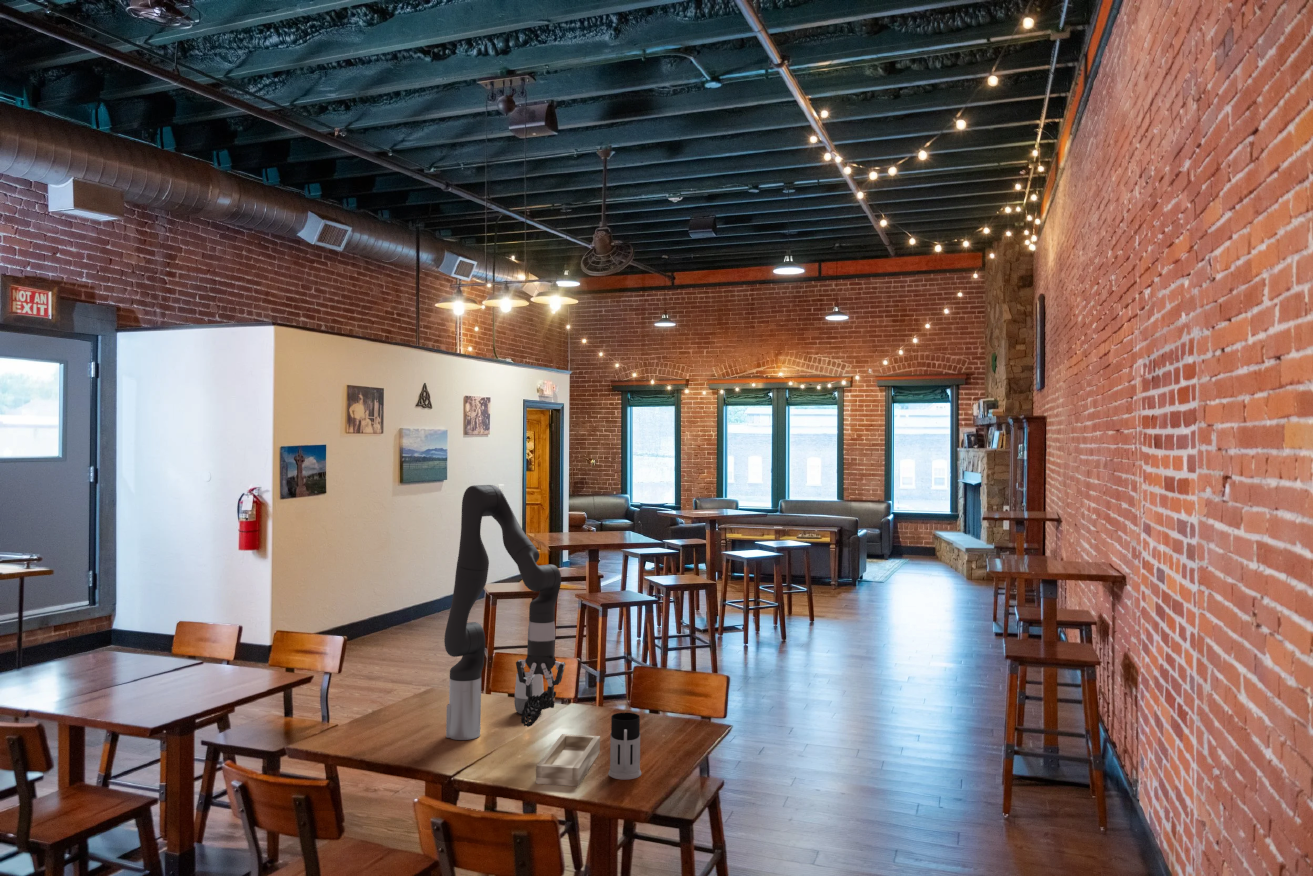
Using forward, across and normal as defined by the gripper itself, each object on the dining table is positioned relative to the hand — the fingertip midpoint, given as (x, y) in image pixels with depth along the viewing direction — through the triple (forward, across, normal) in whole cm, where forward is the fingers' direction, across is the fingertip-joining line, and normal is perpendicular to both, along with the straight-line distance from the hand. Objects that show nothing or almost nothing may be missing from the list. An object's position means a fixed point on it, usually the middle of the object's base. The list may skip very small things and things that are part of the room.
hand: (539, 698), depth 253 cm
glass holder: (+16, +26, -11) cm, 33 cm away
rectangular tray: (+16, +10, -6) cm, 20 cm away
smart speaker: (+17, -15, +42) cm, 47 cm away
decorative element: (+5, 0, 0) cm, 5 cm away
